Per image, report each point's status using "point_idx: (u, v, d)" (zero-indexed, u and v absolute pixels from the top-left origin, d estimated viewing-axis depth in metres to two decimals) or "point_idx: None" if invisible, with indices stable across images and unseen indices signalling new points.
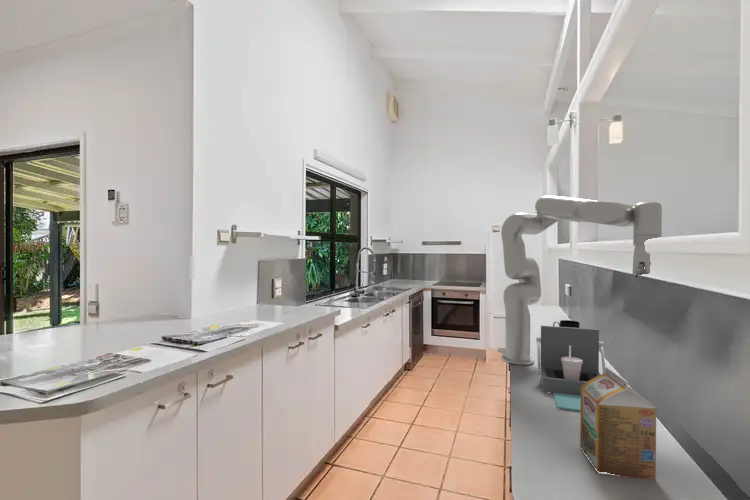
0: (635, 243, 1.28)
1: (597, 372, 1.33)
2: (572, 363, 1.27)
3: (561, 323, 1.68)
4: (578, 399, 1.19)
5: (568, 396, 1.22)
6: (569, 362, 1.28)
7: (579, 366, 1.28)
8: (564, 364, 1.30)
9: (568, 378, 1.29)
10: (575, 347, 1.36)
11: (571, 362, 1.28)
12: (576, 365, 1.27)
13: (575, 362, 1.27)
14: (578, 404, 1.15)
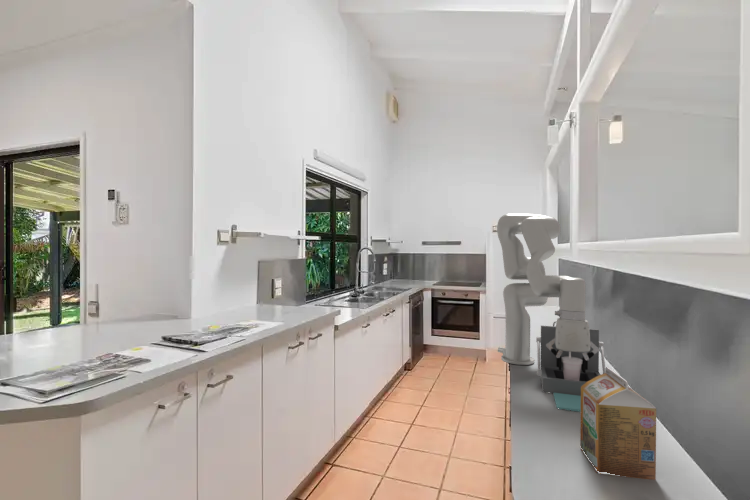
0: (583, 319, 1.27)
1: (597, 372, 1.33)
2: (572, 363, 1.27)
3: None
4: (578, 399, 1.19)
5: (568, 396, 1.22)
6: (569, 362, 1.28)
7: (579, 366, 1.28)
8: (564, 364, 1.30)
9: (568, 378, 1.29)
10: None
11: (571, 362, 1.28)
12: (576, 365, 1.27)
13: (575, 362, 1.27)
14: (578, 404, 1.15)
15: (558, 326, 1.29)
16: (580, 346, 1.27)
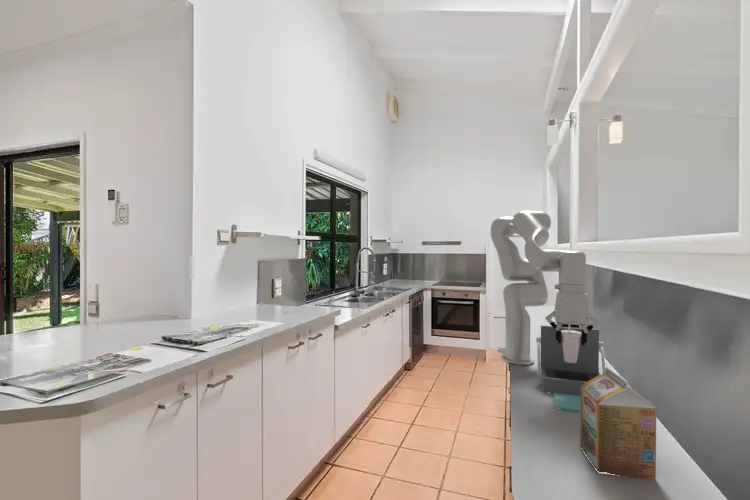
0: (582, 292, 1.27)
1: (597, 372, 1.33)
2: (571, 336, 1.28)
3: None
4: (578, 399, 1.19)
5: (568, 396, 1.22)
6: (568, 335, 1.28)
7: (578, 339, 1.28)
8: (563, 337, 1.30)
9: (567, 351, 1.29)
10: None
11: (570, 335, 1.28)
12: (575, 338, 1.28)
13: (574, 335, 1.28)
14: (578, 404, 1.15)
15: (558, 299, 1.30)
16: (579, 319, 1.27)
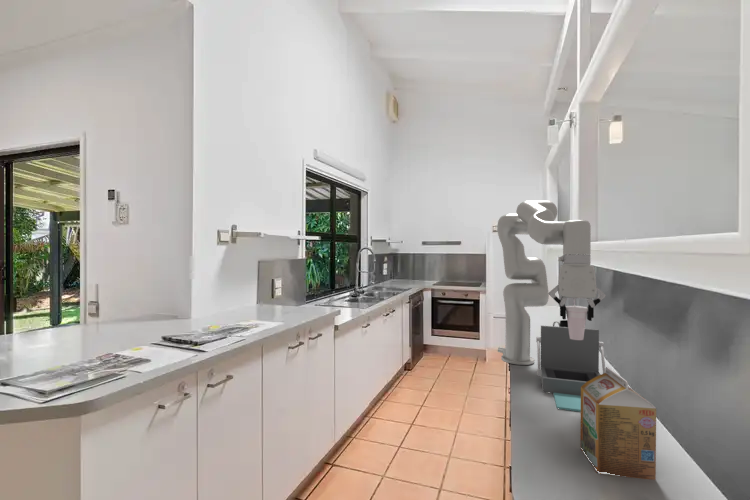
0: (588, 263, 1.19)
1: (597, 372, 1.33)
2: (577, 310, 1.19)
3: (561, 323, 1.68)
4: (578, 399, 1.19)
5: (568, 396, 1.22)
6: (574, 309, 1.19)
7: (584, 314, 1.19)
8: (568, 312, 1.21)
9: (573, 327, 1.20)
10: (575, 347, 1.36)
11: (576, 309, 1.19)
12: (581, 312, 1.19)
13: (580, 309, 1.19)
14: (578, 404, 1.15)
15: (562, 272, 1.21)
16: (585, 292, 1.18)
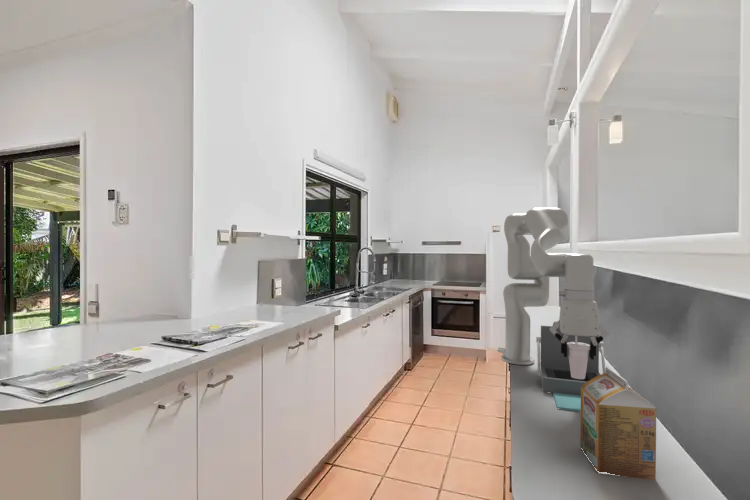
0: (590, 300, 1.14)
1: (597, 372, 1.33)
2: (579, 348, 1.14)
3: None
4: (578, 399, 1.19)
5: (568, 396, 1.22)
6: (575, 347, 1.15)
7: (586, 352, 1.15)
8: (570, 350, 1.16)
9: (574, 365, 1.15)
10: None
11: (578, 347, 1.14)
12: (583, 351, 1.14)
13: (582, 347, 1.14)
14: (578, 404, 1.15)
15: (563, 308, 1.16)
16: (588, 329, 1.14)
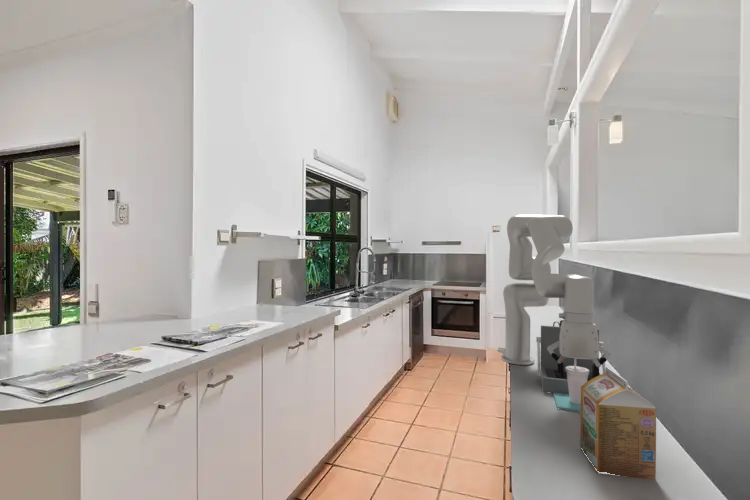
0: (590, 323, 1.14)
1: None
2: (578, 374, 1.14)
3: None
4: None
5: (568, 396, 1.22)
6: (574, 372, 1.15)
7: (585, 377, 1.15)
8: (569, 375, 1.17)
9: (573, 390, 1.16)
10: None
11: (576, 373, 1.15)
12: (582, 376, 1.14)
13: (581, 373, 1.14)
14: (578, 404, 1.15)
15: (563, 330, 1.16)
16: (587, 352, 1.14)
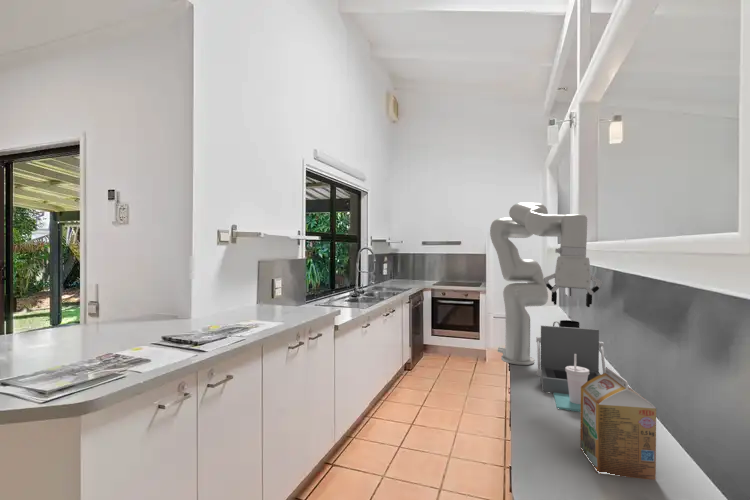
0: (583, 255, 1.25)
1: (597, 372, 1.33)
2: (578, 374, 1.14)
3: (561, 323, 1.68)
4: None
5: (568, 396, 1.22)
6: (574, 372, 1.15)
7: (585, 377, 1.15)
8: (569, 375, 1.17)
9: (573, 390, 1.16)
10: (575, 347, 1.36)
11: (577, 372, 1.15)
12: (582, 376, 1.14)
13: (581, 373, 1.14)
14: (578, 404, 1.15)
15: (558, 263, 1.28)
16: (580, 282, 1.26)
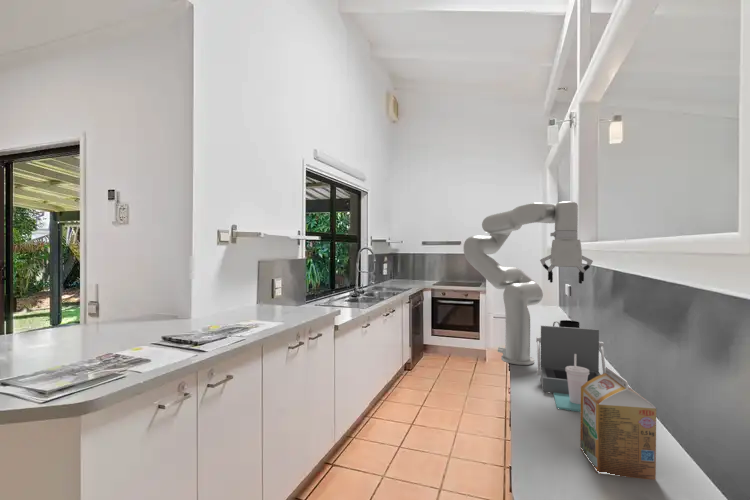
0: (575, 237, 1.42)
1: (597, 372, 1.33)
2: (578, 374, 1.14)
3: (561, 323, 1.68)
4: None
5: (568, 396, 1.22)
6: (574, 372, 1.15)
7: (585, 377, 1.15)
8: (569, 375, 1.17)
9: (573, 390, 1.16)
10: (575, 347, 1.36)
11: (577, 372, 1.15)
12: (582, 376, 1.14)
13: (581, 373, 1.14)
14: (578, 404, 1.15)
15: (553, 245, 1.45)
16: (573, 261, 1.42)
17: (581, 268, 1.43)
